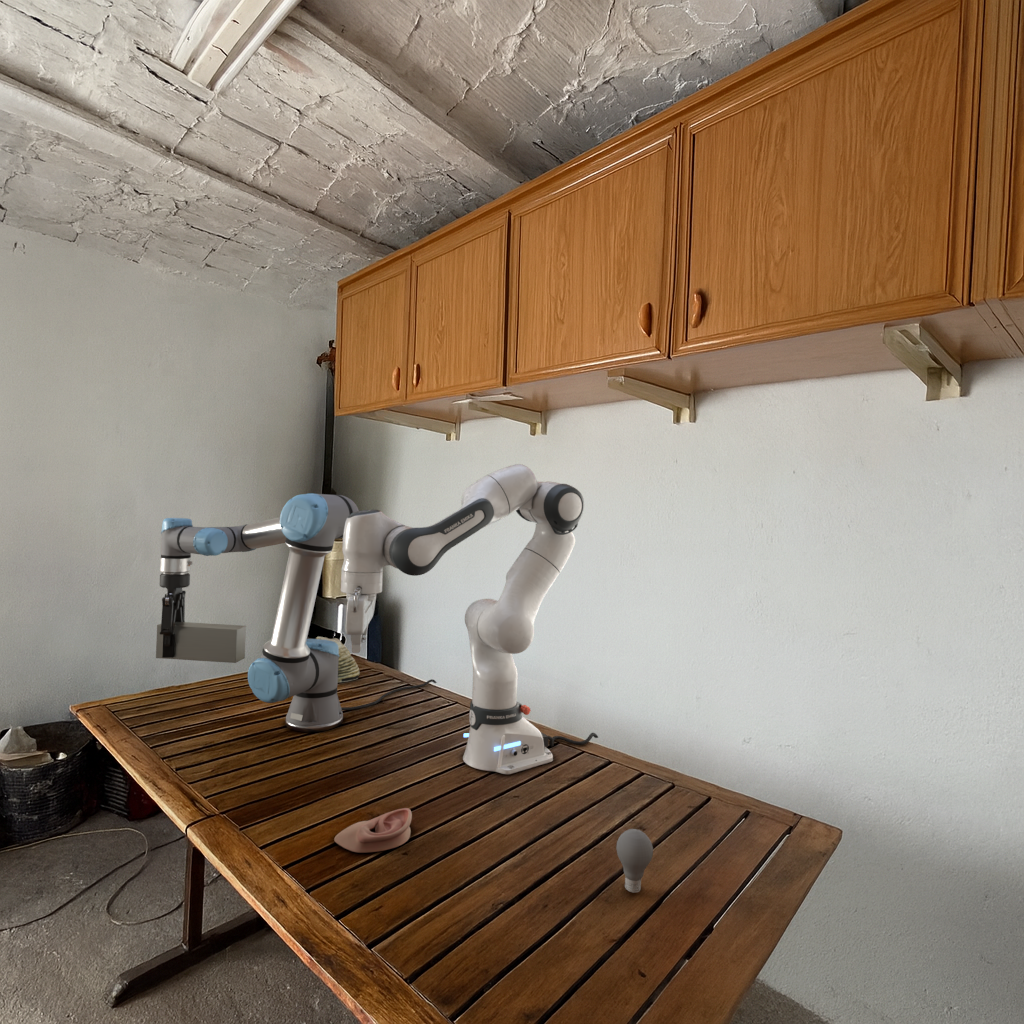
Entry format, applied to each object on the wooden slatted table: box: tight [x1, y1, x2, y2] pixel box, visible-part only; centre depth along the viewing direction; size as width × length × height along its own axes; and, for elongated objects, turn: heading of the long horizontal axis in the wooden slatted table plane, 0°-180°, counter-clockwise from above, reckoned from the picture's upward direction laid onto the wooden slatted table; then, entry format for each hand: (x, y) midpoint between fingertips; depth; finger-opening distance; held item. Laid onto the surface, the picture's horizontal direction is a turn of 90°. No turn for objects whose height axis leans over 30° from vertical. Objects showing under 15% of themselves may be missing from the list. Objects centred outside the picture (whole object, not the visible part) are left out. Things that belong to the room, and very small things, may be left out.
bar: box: [155, 621, 247, 664], centre depth 178 cm, size 23×5×9 cm, turn 87°
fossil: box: [315, 636, 361, 683], centre depth 216 cm, size 9×18×15 cm, turn 132°
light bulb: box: [615, 828, 654, 894], centre depth 106 cm, size 6×6×10 cm
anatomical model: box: [333, 807, 413, 854], centre depth 119 cm, size 13×4×12 cm
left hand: (172, 653), depth 179 cm, fingers closed on bar, 6 cm apart
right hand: (359, 646), depth 138 cm, fingers open, 8 cm apart
